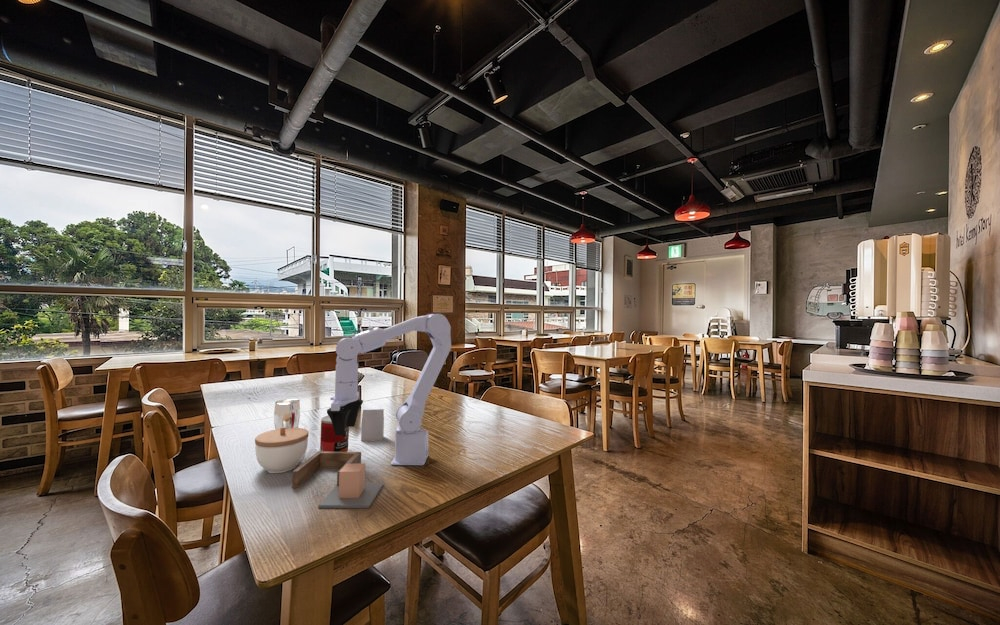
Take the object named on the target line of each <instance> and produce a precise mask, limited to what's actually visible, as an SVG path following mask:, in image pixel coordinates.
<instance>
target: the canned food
mask: <svg viewBox="0 0 1000 625" xmlns="http://www.w3.org/2000/svg"><path fill="white" fill-rule="evenodd" d="M349 433H350V427H347V426H346V428H345V433H344V435H343V436H339V435H335V432H334V428H333V424H332V421H331V419H330V417H329V415H326V416H323V417H321V421H320V438H319V439H320V441H319V445H320V447H319V451H330V452H349V451H348V450H349V438H350V437H349V436H350V434H349Z"/></svg>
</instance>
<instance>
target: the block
mask: <svg viewBox="0 0 1000 625" xmlns="http://www.w3.org/2000/svg"><path fill="white" fill-rule="evenodd" d="M340 469H341V468H340ZM340 469H339V470H340ZM339 470H338V471H339ZM365 482H366V463H361V464H346V465H345V466H344V467H343V468H342V469H341V470H340V471H339V498H359V497H360V495H361V494H362V492H363V491H364V489H365Z"/></svg>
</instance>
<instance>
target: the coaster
mask: <svg viewBox="0 0 1000 625" xmlns="http://www.w3.org/2000/svg"><path fill="white" fill-rule="evenodd" d="M384 484H385V483H384V482H381V481H380V482H378V481H375V482H374V481H371V482H370V481H369V482H367V481H365V489H364V491H363V492H362V494H361V495H360V497H359V498H339V486H337V484H336V485H335V486H334V487H333V488H332V489H331V490H330V492H329V493H327V494H326V496H325V497H324V498H323V499H322V500H321V502H320V503H318V507H317V508H318V509H369V508H370V507H371V505H372V504H373V502H374V501H375V499H376V498H377V496H378V494H379V493H380V491H381V489H382V488H383V487H384Z"/></svg>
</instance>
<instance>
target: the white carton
mask: <svg viewBox="0 0 1000 625" xmlns="http://www.w3.org/2000/svg"><path fill="white" fill-rule="evenodd" d="M300 404H301V403H300V399H297V398H287V399H280V400H277V401H275V404H274V410H273V411H274V412H273V413H274V414H273V424H274V430H275V429H280V428H281V427H285V428H299V424H300V417H301V406H300Z"/></svg>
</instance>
